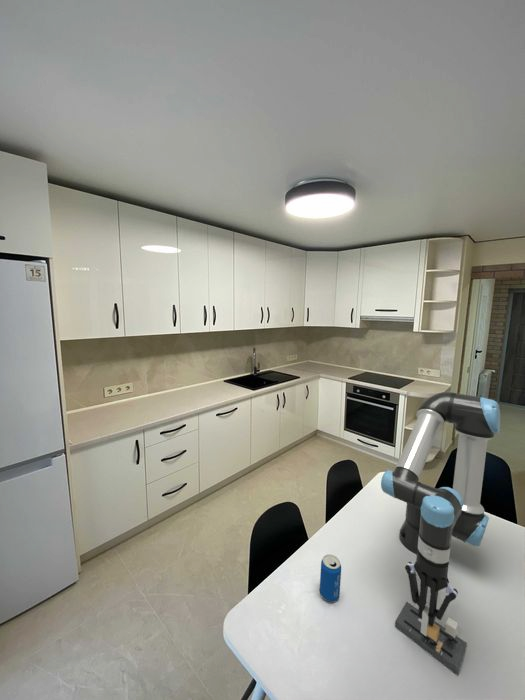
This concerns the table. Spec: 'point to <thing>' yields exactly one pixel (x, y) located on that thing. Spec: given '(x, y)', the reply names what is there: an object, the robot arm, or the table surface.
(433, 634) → the fader
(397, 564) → the table surface
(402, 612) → the console
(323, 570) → the beverage can
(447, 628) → the fader
